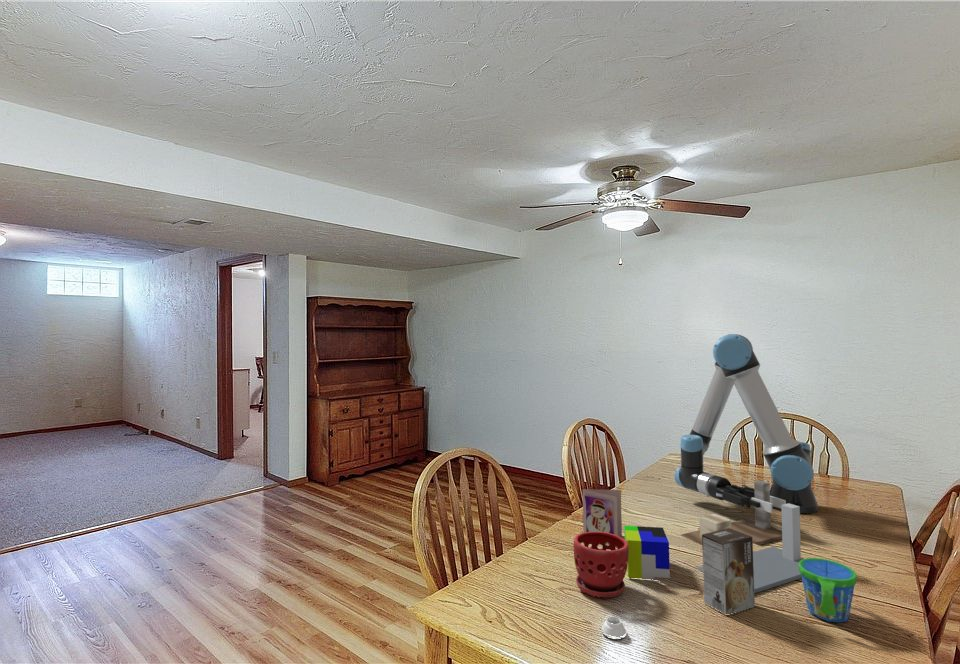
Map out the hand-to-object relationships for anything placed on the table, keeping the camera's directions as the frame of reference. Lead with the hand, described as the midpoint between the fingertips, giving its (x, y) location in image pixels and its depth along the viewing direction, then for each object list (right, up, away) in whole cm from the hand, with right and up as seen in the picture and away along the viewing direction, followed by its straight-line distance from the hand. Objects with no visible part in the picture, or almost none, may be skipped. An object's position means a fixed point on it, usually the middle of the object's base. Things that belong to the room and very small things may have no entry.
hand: (778, 506), depth 153 cm
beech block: (-21, -8, -4) cm, 23 cm away
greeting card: (-53, -10, -1) cm, 54 cm away
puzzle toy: (-47, -10, -21) cm, 52 cm away
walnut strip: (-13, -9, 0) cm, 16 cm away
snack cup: (-14, -9, -42) cm, 46 cm away
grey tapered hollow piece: (-63, -10, -48) cm, 80 cm away
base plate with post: (-18, -9, -22) cm, 30 cm away
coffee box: (-34, -10, -38) cm, 52 cm away
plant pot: (-61, -10, -29) cm, 68 cm away
